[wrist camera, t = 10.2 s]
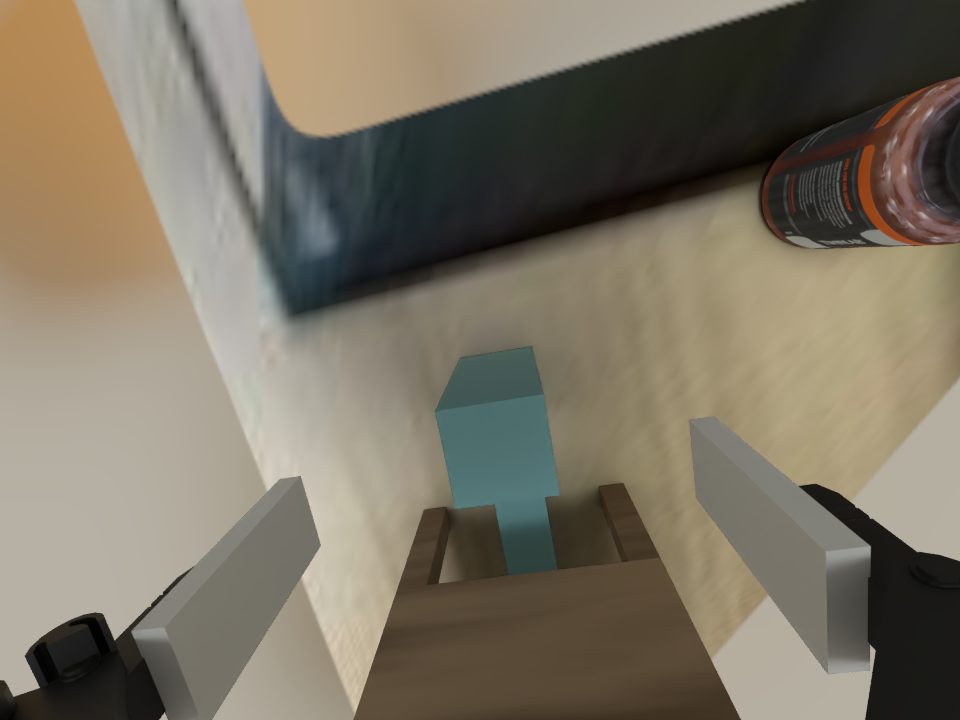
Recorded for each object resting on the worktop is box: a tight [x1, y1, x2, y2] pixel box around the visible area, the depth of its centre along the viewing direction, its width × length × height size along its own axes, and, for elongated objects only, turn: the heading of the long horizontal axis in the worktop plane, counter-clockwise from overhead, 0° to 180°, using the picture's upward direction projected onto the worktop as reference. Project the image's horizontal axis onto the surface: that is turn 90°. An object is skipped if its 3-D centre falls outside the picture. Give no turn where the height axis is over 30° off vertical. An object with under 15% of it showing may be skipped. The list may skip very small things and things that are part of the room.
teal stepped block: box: [435, 346, 560, 576], centre depth 26 cm, size 23×6×10 cm, turn 10°
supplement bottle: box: [762, 77, 960, 249], centre depth 20 cm, size 6×6×11 cm
